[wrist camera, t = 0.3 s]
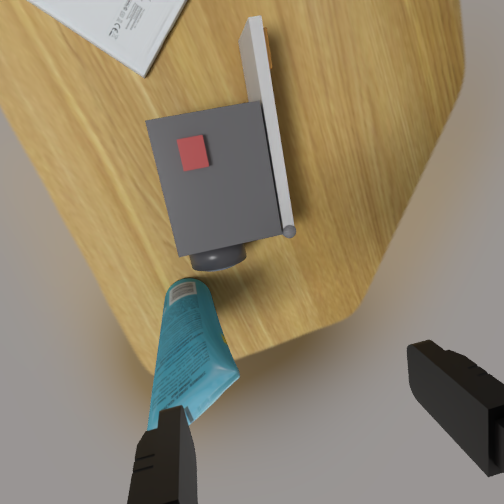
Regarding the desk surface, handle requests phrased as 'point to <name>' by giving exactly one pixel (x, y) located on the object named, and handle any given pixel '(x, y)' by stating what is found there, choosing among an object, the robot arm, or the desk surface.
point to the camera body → (216, 182)
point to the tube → (190, 353)
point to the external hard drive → (119, 26)
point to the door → (266, 110)
